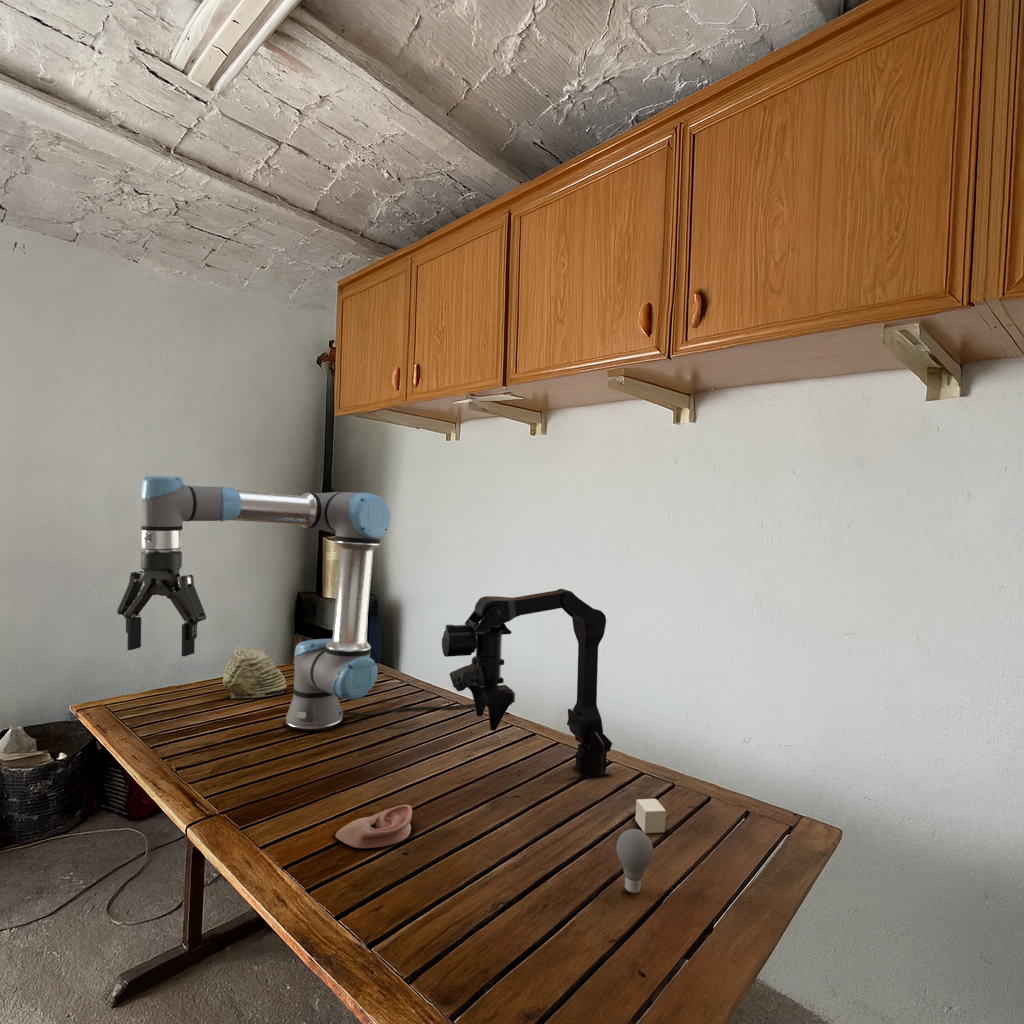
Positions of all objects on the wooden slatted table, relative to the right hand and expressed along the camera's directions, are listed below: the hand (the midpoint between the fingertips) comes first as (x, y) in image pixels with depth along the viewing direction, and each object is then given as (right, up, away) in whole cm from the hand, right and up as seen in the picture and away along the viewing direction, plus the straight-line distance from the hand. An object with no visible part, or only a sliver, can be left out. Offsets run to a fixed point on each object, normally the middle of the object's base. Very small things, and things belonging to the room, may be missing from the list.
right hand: (486, 723), depth 142 cm
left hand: (-68, +18, -10) cm, 71 cm away
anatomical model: (-20, -14, -22) cm, 33 cm away
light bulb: (+26, -16, -36) cm, 47 cm away
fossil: (-75, -10, +56) cm, 94 cm away
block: (+34, -16, -14) cm, 40 cm away
